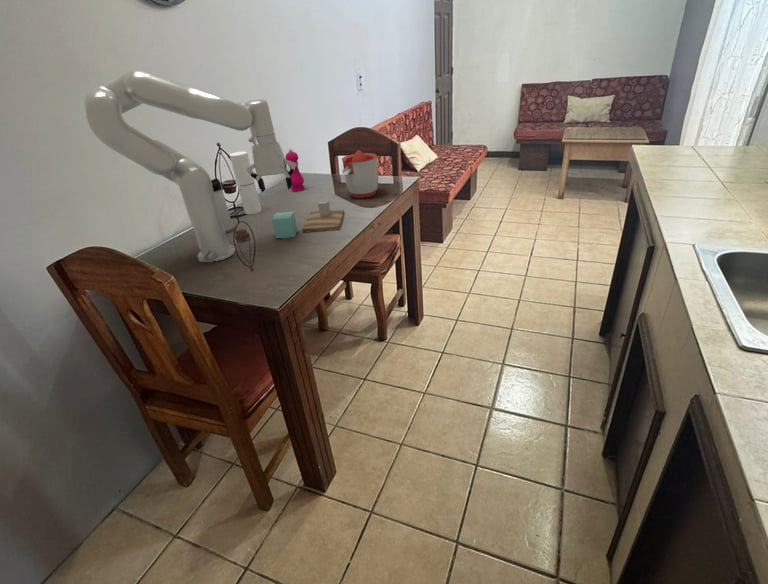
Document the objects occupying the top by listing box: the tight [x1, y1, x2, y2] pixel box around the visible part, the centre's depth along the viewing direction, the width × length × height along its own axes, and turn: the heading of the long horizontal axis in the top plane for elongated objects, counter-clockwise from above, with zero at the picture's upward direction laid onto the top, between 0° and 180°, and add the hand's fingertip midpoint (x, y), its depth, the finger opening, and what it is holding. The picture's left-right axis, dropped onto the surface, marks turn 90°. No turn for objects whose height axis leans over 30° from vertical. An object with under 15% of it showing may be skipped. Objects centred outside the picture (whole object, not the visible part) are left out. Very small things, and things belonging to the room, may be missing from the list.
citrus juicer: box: [341, 149, 379, 199], centre depth 187 cm, size 16×17×20 cm
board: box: [302, 209, 345, 233], centre depth 166 cm, size 18×14×2 cm
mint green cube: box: [271, 211, 298, 240], centre depth 157 cm, size 7×7×8 cm
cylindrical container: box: [229, 151, 262, 215], centre depth 179 cm, size 7×7×25 cm
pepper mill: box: [284, 148, 305, 193], centre depth 203 cm, size 7×7×20 cm
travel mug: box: [211, 178, 234, 234], centre depth 163 cm, size 6×7×20 cm
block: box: [318, 199, 331, 217], centre depth 168 cm, size 4×4×6 cm
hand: (276, 189), depth 151 cm, fingers open, 9 cm apart
